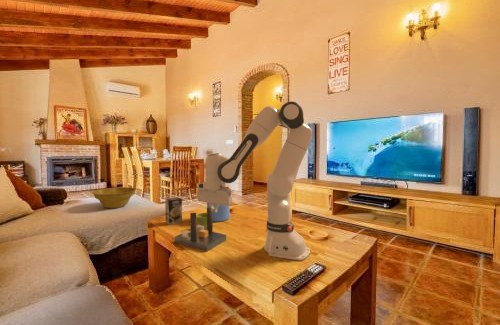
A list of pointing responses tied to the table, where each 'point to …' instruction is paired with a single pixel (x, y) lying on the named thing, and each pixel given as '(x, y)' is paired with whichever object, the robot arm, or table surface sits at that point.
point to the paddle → (203, 233)
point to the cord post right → (209, 220)
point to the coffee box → (173, 210)
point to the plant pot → (202, 219)
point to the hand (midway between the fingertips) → (214, 211)
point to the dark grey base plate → (200, 239)
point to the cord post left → (193, 226)
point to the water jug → (220, 213)
